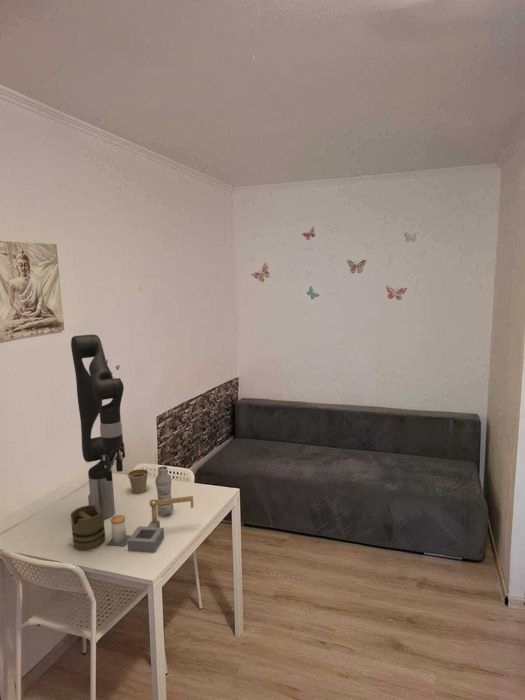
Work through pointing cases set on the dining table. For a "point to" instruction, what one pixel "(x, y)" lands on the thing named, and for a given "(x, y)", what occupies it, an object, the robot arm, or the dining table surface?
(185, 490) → the dining table surface
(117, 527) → the plug
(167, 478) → the plastic bottle
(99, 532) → the piston
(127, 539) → the mat
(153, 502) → the lever
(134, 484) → the flower pot
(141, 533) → the socket block
